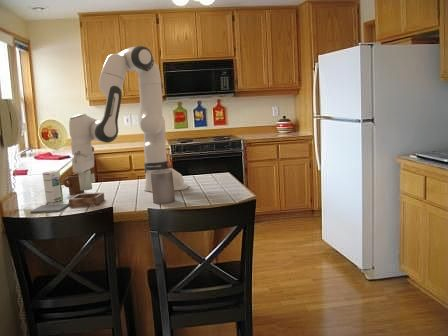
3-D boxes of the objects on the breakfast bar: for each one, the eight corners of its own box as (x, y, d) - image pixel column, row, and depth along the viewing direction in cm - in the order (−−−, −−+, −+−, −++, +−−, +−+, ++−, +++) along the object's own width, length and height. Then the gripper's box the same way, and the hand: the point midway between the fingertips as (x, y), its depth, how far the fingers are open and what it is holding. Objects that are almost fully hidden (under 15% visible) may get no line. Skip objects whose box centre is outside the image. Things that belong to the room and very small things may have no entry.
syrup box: (53, 202, 236) (50, 172, 234) (45, 201, 239) (42, 172, 237) (63, 200, 241) (60, 170, 239) (55, 199, 244) (51, 170, 242)
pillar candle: (162, 198, 228) (159, 166, 226) (179, 199, 223) (176, 166, 221) (148, 203, 220) (145, 170, 218) (166, 204, 215) (163, 170, 213)
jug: (97, 187, 230) (95, 169, 229) (93, 189, 225) (91, 171, 224) (82, 188, 231) (80, 170, 229) (78, 190, 225) (76, 172, 224)
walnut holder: (104, 199, 235) (103, 192, 234) (96, 205, 222) (95, 197, 222) (78, 201, 235) (77, 194, 235) (69, 207, 223) (68, 199, 222)
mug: (71, 196, 249) (68, 178, 247) (59, 196, 252) (57, 177, 251) (87, 191, 259) (85, 174, 258) (76, 191, 263) (74, 173, 261)
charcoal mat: (69, 205, 227) (69, 203, 227) (60, 211, 215) (59, 209, 215) (41, 207, 227) (41, 205, 227) (30, 213, 215) (30, 211, 215)
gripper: (81, 152, 215) (84, 183, 217) (95, 147, 235) (98, 176, 237) (66, 153, 215) (70, 184, 217) (82, 148, 235) (85, 176, 237)
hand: (85, 180), depth 227 cm, fingers closed on jug, 5 cm apart
